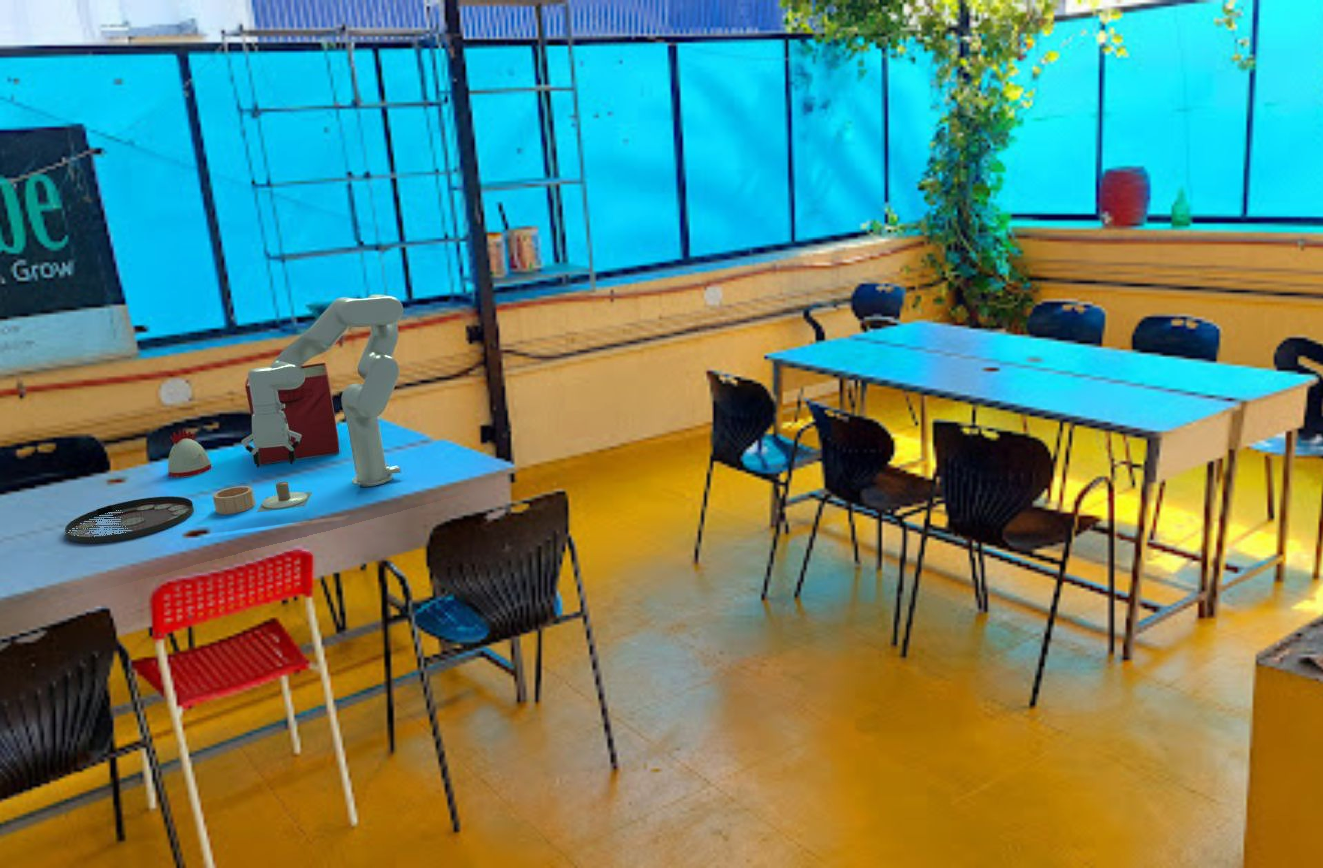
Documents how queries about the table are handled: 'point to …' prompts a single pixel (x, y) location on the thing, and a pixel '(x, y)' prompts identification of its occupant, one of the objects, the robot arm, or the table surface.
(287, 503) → the lid
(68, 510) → the table surface
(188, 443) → the beanie hat
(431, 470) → the table surface
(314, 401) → the storage cube
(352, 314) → the robot arm
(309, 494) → the mat
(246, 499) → the bowl
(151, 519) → the palette wheel
